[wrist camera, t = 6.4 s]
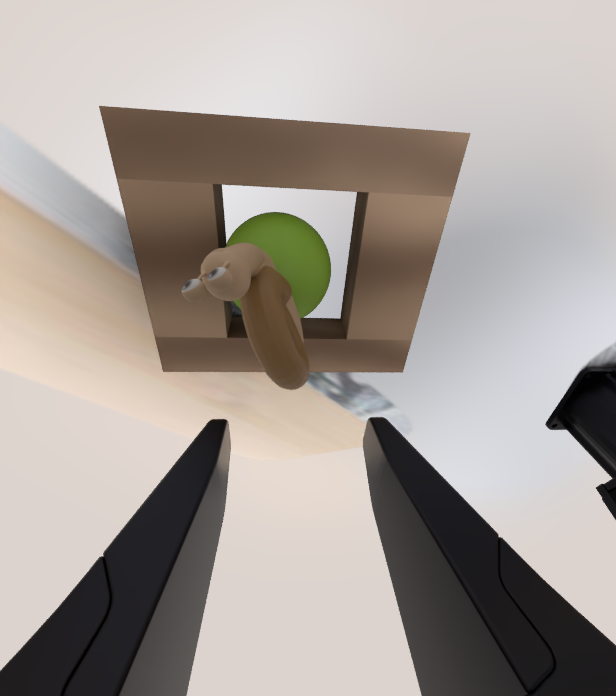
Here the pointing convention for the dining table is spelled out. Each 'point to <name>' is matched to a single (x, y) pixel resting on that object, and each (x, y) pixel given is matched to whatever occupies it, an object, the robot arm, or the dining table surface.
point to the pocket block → (284, 172)
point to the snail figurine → (270, 288)
